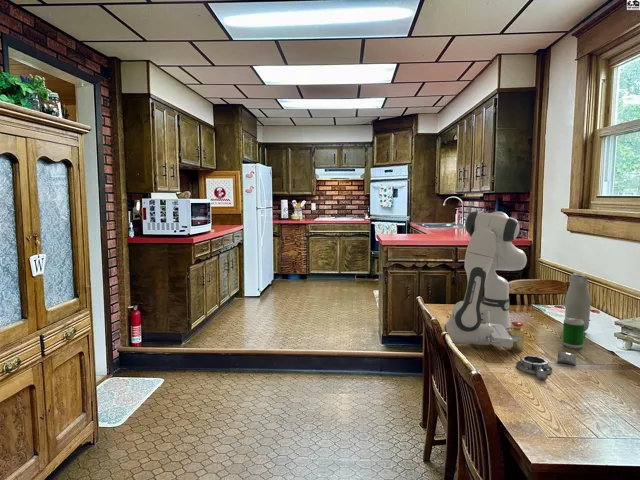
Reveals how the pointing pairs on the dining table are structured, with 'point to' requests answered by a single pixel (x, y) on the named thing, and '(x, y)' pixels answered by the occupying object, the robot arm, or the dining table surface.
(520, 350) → the red capped jar
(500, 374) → the dining table surface
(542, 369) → the flange fitting
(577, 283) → the grey bottle
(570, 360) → the block
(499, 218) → the robot arm
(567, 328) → the soda can
